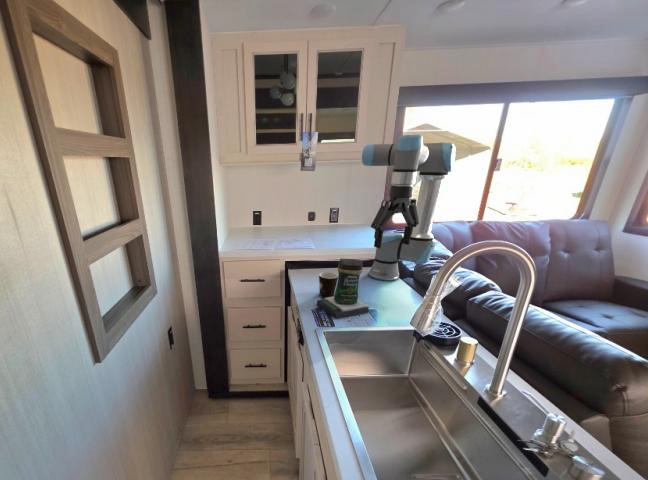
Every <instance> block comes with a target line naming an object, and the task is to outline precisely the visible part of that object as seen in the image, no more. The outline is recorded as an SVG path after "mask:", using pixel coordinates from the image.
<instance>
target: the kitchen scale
mask: <svg viewBox="0 0 648 480" xmlns="http://www.w3.org/2000/svg"><path fill="white" fill-rule="evenodd" d="M316 307H318V308H319V309H321V310H322V311H324V312H325V313H327V314H328V315H329V316H331V317H332V318H333V319H334V320H338V319H342V318H347V317H348V318H349V317H353V316H357V315H363V314H367V313H369V309H370V307H369V306H368V304H366V303H364V302H362V301H361V300H359V299H358V302H357V303H356V304H339V303H337V302H336V301H335V300H334V296H333V297H328V298H323V299H318V300H316Z"/></svg>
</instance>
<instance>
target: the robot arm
mask: <svg viewBox="0 0 648 480" xmlns="http://www.w3.org/2000/svg"><path fill="white" fill-rule="evenodd" d="M423 140H424V136H423V135H422V134H403V135H402V134H401V135H400V136H399V137H398V139H397V143H380V144H379V143H378V144H377V143H373V144H372V143H371V144H366V145H365V146H364V147H363V149H362V153H361V163H362V165H363V166H365V167H393V168H392V174H391V181H390V184H391V185H390V187H389V192H388V197H389V200H384V199H383V200H382V201H381V202H380V203H381V204H380V207H379V209H378V211H377V212H376V215H375V217H374V218H373V221H372V222H371V225H370V228H372V229H374V235H373V236H374V237H373V238H374V243H373V247H374V248H375V256H374V261H373V263H372V265H371V268H370V269H369V271H368V276H369V277H371V279H375V280H378V281H385V282H386V281H387V282H388V281H389V282H390V281H391V282H393V281H396V280H399V278H400V272H399V266H398V265H399V261H405V262H410V263H416V264H423V265H424V264H427V263H428V262H429V261H430V259H431V257H432V255H433V252H434V250H435V248H436V244H437V241H436V240H434V235H433V234H432V229H433V226H434V225H433V224H434V220H435V215H436V211H437V207H438V202H439V198H440V193H441V188H442V185H443V181H444V180H445V179H446V178H447V177H448V175H449V173H452V172H453V170H454V166H455V160H456V146H455V144H454V143H453V142H428V143H427V142H426V143H424V141H423ZM417 172H418V177H419V178H420V186H419V191H418V196H417V199H415V198H413V194H414V190H415V188H414V186H413V185H415V184H416V177H417ZM395 214H401V215H402V217H403V219H404V221H405V223H406V225H405V226H404V231H403V233H402V232H386V233H384V229H383V228H384V227H385V226H386V225H387V223H388V222H389V221H390V219H391V218H392V217H393V216H394V215H395Z"/></svg>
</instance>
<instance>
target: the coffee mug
mask: <svg viewBox="0 0 648 480" xmlns="http://www.w3.org/2000/svg"><path fill="white" fill-rule="evenodd" d="M338 276H339V274H337V273H335V272H330V271H324V272H320V273H319V274H318V284H319V297H320V298H323V299H325V298H328V297H333V296H334V295H335V290H336V286H337V282H338Z"/></svg>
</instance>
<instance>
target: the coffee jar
mask: <svg viewBox="0 0 648 480" xmlns="http://www.w3.org/2000/svg"><path fill="white" fill-rule="evenodd" d="M337 272H338V280H337V284H336V288H335V293H334V300H335V301H336V302H337V303H339V304H356V303H357V302H358V300H359V285H360V276H361V274H362V273H363V261H362V259H360V258H342V257H340V259H339V261H338V264H337Z"/></svg>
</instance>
